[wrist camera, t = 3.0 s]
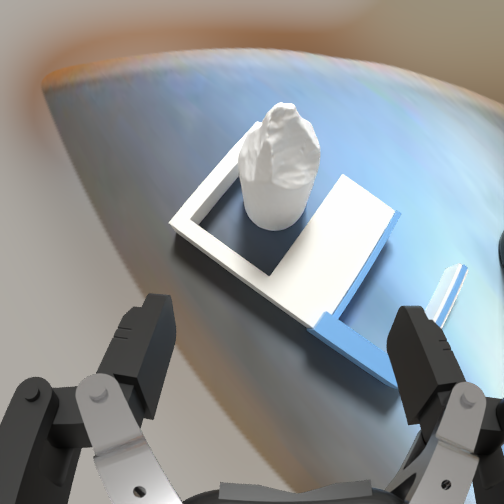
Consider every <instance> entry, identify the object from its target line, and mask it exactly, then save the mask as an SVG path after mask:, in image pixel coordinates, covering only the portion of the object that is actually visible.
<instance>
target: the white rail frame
mask: <svg viewBox="0 0 504 504" xmlns="http://www.w3.org/2000/svg"><path fill="white" fill-rule="evenodd" d="M257 123H259V122H256V123H255V124H254V125H256V124H257ZM246 135H247V133H246V134H245V135H244V136H243V137H242V138H241V140H240V141H239V142H238V143H237V144H236V145H235V146H234V147H233V148H232V149H231V151H230V152H229V153H228V154H227V155H226V156H225V157H224V158H223V159H222V161H221V162H220V163H219V164H218V165H217V166H216V167H215V169H214V170H213V171H212V172H211V173H210V174H209V175H208V177H207V178H206V179H205V180H204V181H203V182H202V184H201V185H200V186H199V187H198V188H197V189H196V191H195V192H194V193H193V194H192V195H191V197H190V198H189V199H188V200H187V201H186V203H185V204H184V205H183V206H182V207H181V209H180V210H179V211H178V212H177V213H176V215H175V216H174V217H173V218H172V220H171V221H170V222H169V224H170V225H171V226H172V228H173V229H174V230H175V232H176V233H178V234H179V235H180V236H182V237H183V238H184V239H186V240H187V241H188V242H190V243H191V244H192V245H194V246H195V247H196V248H198V249H199V250H200V251H202V252H203V253H204V254H206V255H207V256H208V257H210V258H211V259H212V260H214V261H215V262H217V263H218V264H219V265H221V266H222V267H223V268H225V269H226V270H227V271H229V272H230V273H231V274H233V275H234V276H236V277H237V278H238V279H240V280H241V281H242V282H244V283H245V284H247V285H248V286H249V287H251V288H252V289H253V290H255V291H256V292H258V293H259V294H260V295H262V296H263V297H265V298H266V299H267V300H269V301H270V302H271V303H273V304H274V305H276V306H277V307H278V308H280V309H281V310H283V311H284V312H285V313H287V314H288V315H290V316H291V317H292V318H294V319H295V320H297V321H298V322H300V323H301V324H302V325H304V326H305V327H307V331H308V332H309V333H311V334H312V335H314V336H315V337H317V338H318V339H319V340H321V341H322V342H324V343H325V344H327V345H328V346H330V347H331V348H332V349H334V350H335V351H337V352H338V353H340V354H341V355H343V356H344V357H345V358H347V359H348V360H350V361H351V362H353V363H354V364H356V365H357V366H359V367H360V368H362V369H363V370H365V371H366V372H367V373H369V374H370V375H372V376H373V377H375V378H376V379H378V380H379V381H381V382H382V383H384V384H385V385H387V386H389V387H392V388H395V389H398V386H397V382H396V379H395V376H394V372H393V369H392V366H391V363H390V359H389V356H388V354H386V353H385V352H384V351H382V350H381V349H379V348H378V347H377V346H375V345H374V344H372V343H371V342H369V341H368V340H367V339H365V338H364V337H362V336H361V335H360V334H358V333H357V332H355V331H354V330H352V329H351V328H350V327H348V326H347V325H345V324H344V323H343V322H341V321H340V320H338V319H339V317H340V316H341V314H342V312H343V311H344V309H345V308H346V306H347V305H348V303H349V302H350V300H351V299H352V297H353V295H354V294H355V292H356V291H357V289H358V288H359V286H360V284H361V283H362V281H363V280H364V278H365V276H366V275H367V273H368V271H369V270H370V268H371V266H372V265H373V263H374V261H375V260H376V258H377V256H378V255H379V253H380V251H381V249H382V248H383V246H384V244H385V243H386V241H387V239H388V237H389V235H390V234H391V232H392V230H393V228H394V227H395V225H396V223H397V221H398V219H399V217H400V216H401V213H400V212H399V211H397V210H396V211H394V210H393V209H391V208H390V207H389V206H387V205H386V204H385V203H383V202H382V201H381V200H379V199H378V198H376V197H375V196H374V195H372V194H371V193H369V192H368V191H367V190H365V189H364V188H362V187H361V186H359V185H358V184H356V183H355V182H354V181H352V180H351V179H349V178H348V177H346V176H345V175H343V174H342V176H341V177H340V178H339V180H338V181H337V183H336V184H335V186H334V187H333V189H332V190H331V191H330V193H329V194H328V196H327V197H326V198H325V200H324V201H323V203H322V204H321V206H320V207H319V208H318V210H317V211H316V213H315V214H314V215H313V217H312V218H311V220H310V221H309V222H308V224H307V225H306V227H305V228H304V229H303V231H302V232H301V234H300V235H299V236H298V238H297V239H296V241H295V242H294V243H293V245H292V246H291V248H290V249H289V250H288V252H287V253H286V254H285V256H284V257H283V259H282V260H281V261H280V263H279V264H278V265H277V267H276V268H275V270H274V271H273V272H272V274H271V275H270V276H268V275H266V274H265V273H264V272H262V271H261V270H259V269H258V268H257V267H255V266H254V265H252V264H251V263H250V262H248V261H247V260H245V259H244V258H243V257H241V256H240V255H238V254H237V253H236V252H234V251H233V250H231V249H230V248H229V247H227V246H226V245H225V244H223V243H222V242H220V241H219V240H218V239H216V238H215V237H213V236H212V235H211V234H209V233H208V232H207V231H205V230H204V229H202V228H201V227H200V226H198V225H199V224H200V223H201V221H202V220H203V219H204V218H205V216H206V215H207V214H208V213H209V211H210V210H211V209H212V208H213V207H214V205H215V204H216V203H217V202H218V200H219V199H220V198H221V197H222V196H223V194H224V193H225V192H226V191H227V190H228V188H229V187H230V186H231V185H232V184H233V182H234V181H235V180H236V179H237V178H238V177H239V171H238V155H239V152H240V149H241V147H242V144H243V142H244V140H245V138H246ZM394 212H395V213H394ZM393 214H394V215H393ZM392 216H393V217H392ZM391 217H392V219H391ZM390 219H391V220H390ZM389 221H390V222H389ZM388 223H389V224H388ZM387 224H388V226H387ZM386 226H387V227H386ZM385 228H386V229H385ZM384 230H385V231H384ZM383 231H384V233H383ZM382 233H383V234H382ZM381 235H382V236H381ZM380 237H381V238H380ZM379 238H380V240H379ZM378 240H379V241H378ZM377 242H378V243H377ZM376 243H377V245H376ZM375 245H376V246H375ZM374 247H375V248H374ZM373 248H374V250H373ZM372 250H373V251H372ZM371 252H372V253H371ZM370 253H371V255H370ZM369 255H370V256H369ZM368 257H369V258H368ZM367 258H368V260H367ZM366 260H367V261H366ZM365 262H366V263H365ZM364 263H365V265H364ZM363 265H364V266H363ZM362 267H363V268H362ZM361 268H362V269H361ZM360 270H361V271H360ZM359 271H360V273H359ZM358 273H359V274H358ZM467 273H468V270H467V267H466V266H465V265H461V264H460V263H458V264H456V265H453V266H451V267H448V268H446V269H445V271H444V273H443V275H442V277H441V279H440V281H439V284H438V286H437V288H436V290H435V292H434V294H433V296H432V298H431V300H430V302H429V304H428V306H427V307H426V309H425V313H426V315H427V317H428V319H429V320H433V321H434V322H435V323H436V324H437V325H438V326H439V327H440V328H441V329H442V327H443V325H444V323H445V321H446V319H447V317H448V315H449V313H450V311H451V309H452V307H453V305H454V303H455V300H456V298H457V296H458V294H459V292H460V289H461V287H462V285H463V282H464V280H465V278H466V275H467ZM357 275H358V276H357ZM356 276H357V277H356ZM355 278H356V279H355ZM354 279H355V281H354ZM353 281H354V282H353ZM352 283H353V284H352ZM351 284H352V285H351ZM350 286H351V287H350ZM349 287H350V289H349ZM348 289H349V290H348ZM347 290H348V292H347ZM346 292H347V293H346ZM345 294H346V295H345ZM344 295H345V296H344ZM343 297H344V298H343ZM342 298H343V299H342ZM341 300H342V301H341ZM340 301H341V302H340ZM339 303H340V304H339ZM338 304H339V305H338ZM337 306H338V307H337ZM336 307H337V308H336ZM335 309H336V310H335ZM334 310H335V311H334ZM333 312H334V313H333ZM332 313H333V314H332ZM398 390H399V389H398Z"/></svg>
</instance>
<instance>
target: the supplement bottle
mask: <svg viewBox="0 0 504 504" xmlns="http://www.w3.org/2000/svg"><path fill="white" fill-rule="evenodd" d="M500 257H501V261H502V264H503V267H504V231H503V233H502V235H501V239H500Z"/></svg>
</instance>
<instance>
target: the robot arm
mask: <svg viewBox="0 0 504 504" xmlns="http://www.w3.org/2000/svg"><path fill="white" fill-rule="evenodd" d="M175 341H176V324H175V318H174V312H173V305H172V299H171V296H170V295H163V294H151V293H149V294H148V295H147V297H146V299H145V301H144V303H143V305H142V307H133V308H132V309H130V310H129V311H128V312H127V313H126V314H125V315H124V316H123V318H122V320H121V322H120V324H119V326H118V329H117V330H116V332H115V334H114V338H112V340H111V342H110V344H109V347H108V349H107V351H106V353H105V355H104V357H103V360H102V362H101V364H100V366H99V368H98V371H97V372H96V374H93V375H90V376H88V377H86V378H84V379H83V380H82V381H81V382H80V383H79V385H78V386H75V387H62V388H52V387H51V386H50V384H49V383H48V382H47V381H46V380H45V379H43V378H40V377H32V378H28V379H26V380H25V381H23V382H22V383H21V384H20V385H19V386H18V387H17V389H16V391H15V393H14V395H13V397H12V399H11V402H10V404H9V406H8V408H7V410H6V413H5V415H4V417H3V420H2V422H1V424H0V504H68V499H69V495H70V491H71V486H72V482H73V478H74V475H75V471H76V467H77V463H78V459H79V456H80V452H81V449H82V448H87V447H93V449H94V452H95V456H94V463H95V466H96V469H97V471H98V473H99V476H100V478H101V480H102V482H103V485H104V487H105V489H106V491H107V494H108V496H109V498H110V500H111V502H112V504H464V501H465V499H466V496H467V494H468V491H469V488H470V486H471V483H472V482H473V488H474V493H475V499H476V504H504V455H503V452H502V448H501V446H502V445H503V444H504V398H503V399H497V398H490V397H485V395H484V393H483V392H482V390H481V389H480V388H479V387H478V386H476V385H475V384H473V383H469V382H466V380H465V378H464V375H463V373H462V371H461V369H460V367H459V364H458V362H457V360H456V358H455V356H454V354H453V351H451V347H450V345H449V343H448V342H447V339H446V337H445V335H444V333H443V331H442V329H441V328H440V327H439V326H438V325H437V324H436V323H435V322H434V321H433V320H429V319H428V317H427V315H426V313H425V311H424V309H423V308H422V307H421V306H401V307H400V308H399V310H398V312H397V315H396V317H395V320H394V323H393V325H392V328H391V330H390V332H389V335H388V338H387V353H388V356H389V359H390V363H391V366H392V369H393V372H394V376H395V379H396V382H397V386H398V389H399V393H400V396H401V400H402V403H403V407H404V411H405V414H406V418H407V422H408V425H414V424H420V427H421V430H420V431H419V432H418V434H417V436H416V438H415V440H414V442H413V444H412V446H411V448H410V450H409V452H408V454H407V456H406V458H405V460H404V462H403V464H402V466H401V468H400V469H399V471H398V473H397V474H396V476H395V477H394V479H393V480H392V481H391V482H390V483H389V485H388V486H387V487H386V489H385V490H381V489H376V488H371V481H370V480H364V481H355V482H345V483H335V484H332V485H329V486H325V487H322V488H319V489H315V490H311V491H308V492H304V493H298V494H296V493H291V492H286V491H282V490H277V489H273V488H269V487H265V486H261V485H251V484H234V483H223V482H220V489H219V490H212V491H208V492H204V493H200V494H198V495H195V496H193V497H190V498H188V499H186V500H185V501H183V502H182V500H181V499H180V497H179V496H178V494H177V493H176V491H175V489H174V488H173V486H172V485H171V483H170V481H169V480H168V478H167V476H166V475H165V473H164V471H163V470H162V468H161V466H160V464H159V463H158V461H157V459H156V457H155V456H154V454H153V452H152V450H151V448H150V446H149V445H148V443H147V441H146V439H145V437H144V435H143V433H142V431H141V429H140V428H141V425H142V421H143V418H146V419H152V420H153V419H154V416H155V412H156V409H157V405H158V401H159V398H160V394H161V391H162V387H163V383H164V380H165V376H166V373H167V369H168V366H169V362H170V358H171V355H172V352H173V349H174V345H175Z"/></svg>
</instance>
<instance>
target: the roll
mask: <svg viewBox="0 0 504 504" xmlns="http://www.w3.org/2000/svg"><path fill="white" fill-rule="evenodd" d="M319 163H320V146H319V142H318V139H317V137H316V135H315V132H314V129H313V127H312V125H311V123H310V122H308V121H307V120H305V119H302V118H301V116H300V115H299V113H298V112H297V110H296V107H295V105H294V104H291V103H278V104H276V105H275V106H273V108H272V109H271V110H270V111H269V112H268V113H267V114H266V116H265V118H264V119H263V122H260V123H257V124H256V125H254V126H252V127H251V128H250V130H249V131H248V132H247V135H246V138H245V140H244V142H243V144H242V147H241V149H240V152H239V155H238V171H239V177H240V182H241V187H242V193H243V200H244V207H245V210H246V212H247V215H248V216H249V218H250V219H251V220H252V221H253V222H254V223H255V224H256V225H257V226H258V227H260V228H263V229H266V230H270V231H279V230H284V229H286V228H288V227H290V226H292V225H293V224H294V223H295V222H296V221H297V220H298V219H299V218H300V217H301V215H302V214H303V212H304V209H305V207H306V204H307V201H308V198H309V195H310V192H311V190H312V187H313V183H314V180H315V177H316V175H317V172H318V168H319Z"/></svg>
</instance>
